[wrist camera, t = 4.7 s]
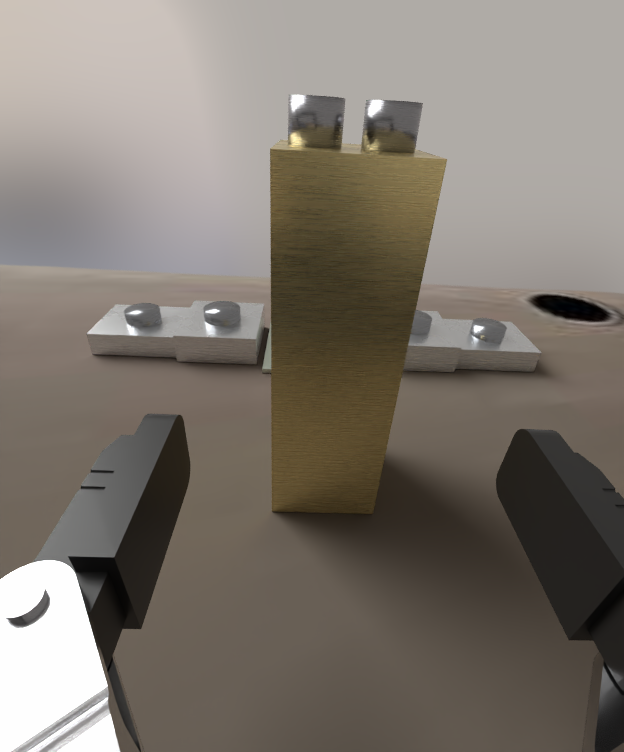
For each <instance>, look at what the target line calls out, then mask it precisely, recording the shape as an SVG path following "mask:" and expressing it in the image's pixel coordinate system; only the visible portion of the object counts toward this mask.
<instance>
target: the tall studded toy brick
mask: <svg viewBox="0 0 624 752" xmlns="http://www.w3.org/2000/svg"><path fill="white" fill-rule="evenodd" d="M422 105H423V103H416V102H406V101H388V100H366V107H365V116H364V125H363V135H362V144H361V145H358V144H343V143H342V134H343V121H344V109H345V99H344V98H338V97H326V96H312V95H289V118H288V140H280V141H279V142H278V143H276V144H275V145H274V146H273V147H272V148H271V149H270V162H271V163H270V175H271V176H270V177H271V178H270V181H271V182H270V184H271V185H270V186H271V187H270V191H271V413H272V511H278V512H315V513H352V514H373V511H374V506H375V501H376V496H377V491H378V487H379V482H380V477H381V472H382V468H383V463H384V458H385V453H386V449H387V444H388V439H389V434H390V429H391V425H392V420H393V415H394V410H395V406H396V401H397V396H398V391H399V386H400V382H401V377H402V372H403V367H404V363H405V358H406V353H407V348H408V344H409V339H410V334H411V329H412V324H413V320H414V315H415V310H416V305H417V301H418V296H419V291H420V286H421V281H422V277H423V271H424V267H425V262H426V258H427V253H428V248H429V243H430V238H431V234H432V229H433V224H434V219H435V215H436V210H437V205H438V200H439V196H440V191H441V186H442V181H443V176H444V172H445V167H446V162H447V159H445V158H441V157H438V156H435V155H432V154H429V153H426V152H422V151H419V150H416V149H415V147H416V141H417V135H418V129H419V123H420V117H421V111H422Z"/></svg>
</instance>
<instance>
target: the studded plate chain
mask: <svg viewBox="0 0 624 752" xmlns="http://www.w3.org/2000/svg"><path fill="white" fill-rule="evenodd" d="M263 331H264V304H258V303H236V302H229V301H217V302H213V301H194V302H193V304H192V306H191V307H190V308H185V307H162V306H158V305H155V304H151V303H140V304H135V305H117V304H116V305H115V306H114V307H113V308H112V309H111V310H110V311H109V312H108V313H107V314H106V315H105V316H104V317H103V318H102V319H101V320H100V321H99V322H98V323H97V324H96V325H95V326H94V327H93V328H92V329H91V330H90V331H89V332H88V333H87V338H88V341H89V344H90V348H91V351H92V354H99V355H124V356H149V357H174V358H177V361H181V362H206V363H231V364H257V360H258V355H259V351H260V346H261V341H262V336H263ZM540 355H541V352H540V351H539V350H538V349H537V348H536V347H535V346H534V345H533V344H532V343H531V342H530V341H529V340H528V338H527V337H526V336H525V335H524V334H523V333H522V332H521V331H520V330H519V329H518V328H517V327H516V326H515V325H514V324H513V323H512V322H501V321H496V320H492V319H487V318H478V319H475V320H455V319H442V318H441V316H440V315H439V313H438V312H436V311H418V310H415V315H414V320H413V324H412V329H411V334H410V339H409V344H408V348H407V353H406V358H405V363H404V367H403V370H408V371H433V372H454V371H455V369H475V370H500V371H525V372H534V369H535V367H536V365H537V362H538V360H539V358H540ZM262 373H271V324H270V329H269V335H268V340H267V346H266V351H265V357H264V362H263V368H262Z"/></svg>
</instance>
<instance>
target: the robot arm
mask: <svg viewBox="0 0 624 752" xmlns="http://www.w3.org/2000/svg"><path fill="white" fill-rule="evenodd" d="M189 477H190V458H189V452H188V446H187V440H186V433H185V427H184V421H183V418H182V416H181V415H169V414H147V415H146V416H145V417H144V418H143V420H142V422H141V424H140V425H139V427H138V429H137V431H136V433H135V435H121V436H120V437H119V438H117V439H116V440H115V441H114V442H113V443H111V444H110V445H109V446H108V447H107V448H105V449H104V450H103V451H102V452H101V454H100V456H99V457H98V459H97V461H96V462H95V464H94V465H93V467H92V469H91V473H90V474H88V475H87V477H86V478H85V480H84V482H83V483H82V485H81V489H80V490H78V491H77V493H76V495H75V496H74V498H73V499H72V501H71V503H70V504H69V506H68V508H67V509H66V511H65V512H64V514H63V516H62V517H61V519H60V521H59V522H58V524H57V525H56V527H55V529H54V530H53V532H52V533H51V535H50V537H49V538H48V540H47V542H46V543H45V545H44V546H43V548H42V550H41V551H40V553H39V554H38V556H37V557H36V559H35V560H34V561H33V562H32V564H28V565H26V566H23V567H21V568H19V569H17V570H15V571H13V572H11V573H10V574H8V575H7V576H5V577H4V578H2V579H1V580H0V752H144V749H143V746H142V742H141V739H140V736H139V733H138V730H137V727H136V723H135V720H134V717H133V714H132V711H131V707H130V704H129V701H128V698H127V695H126V691H125V688H124V685H123V682H122V679H121V676H120V672H119V669H118V666H117V663H116V660H115V656H114V654H113V653H114V650H115V647H116V645H117V642H118V639H119V637H120V634H121V631H122V629H141V628H142V625H143V622H144V618H145V615H146V612H147V609H148V606H149V603H150V600H151V597H152V594H153V591H154V588H155V585H156V582H157V579H158V576H159V573H160V570H161V567H162V564H163V561H164V558H165V554H166V551H167V548H168V545H169V542H170V539H171V536H172V533H173V530H174V527H175V524H176V521H177V518H178V515H179V512H180V509H181V506H182V503H183V500H184V497H185V493H186V490H187V487H188V483H189ZM496 488H497V493H498V497H499V499H500V501H501V503H502V505H503V507H504V509H505V511H506V513H507V516H508V518H509V520H510V522H511V524H512V526H513V528H514V530H515V532H516V534H517V536H518V538H519V540H520V542H521V544H522V546H523V548H524V550H525V552H526V554H527V556H528V558H529V560H530V562H531V564H532V566H533V568H534V570H535V572H536V574H537V576H538V578H539V580H540V582H541V584H542V586H543V589H544V591H545V593H546V595H547V597H548V599H549V601H550V603H551V605H552V607H553V609H554V611H555V613H556V615H557V617H558V619H559V621H560V623H561V625H562V627H563V629H564V631H565V633H566V635H567V637H568V639H569V640H593V641H594V642H595V644H596V646H597V648H598V650H599V653H598V654H597V655H596V657H595V659H594V662H593V669H592V677H591V684H590V692H589V700H588V708H587V716H586V723H585V731H584V739H583V747H582V752H624V499H623V498H622V496H621V495H620V494H619V493H616V492H615V488H614V486H613V485H612V484H611V483H610V482H609V480H608V479H607V478H606V477H605V475H604V474H603V473H602V472H601V471H600V469H598V468H597V467H596V466H594V465H593V464H592V463H590V462H589V461H588V460H586V459H585V458H584V457H583V456H581V455H580V454H579V453H574V452H573V451H572V450H571V448H570V447H569V446H568V444H567V443H566V442H565V441H564V439H563V438H562V437H561V435H560V434H559V433H557V432H556V431H553V430H534V429H520V430H518V431H517V432H516V433H515V435H514V437H513V439H512V441H511V444H510V446H509V448H508V450H507V453H506V455H505V457H504V460H503V462H502V464H501V466H500V469H499V471H498V474H497V478H496Z"/></svg>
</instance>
